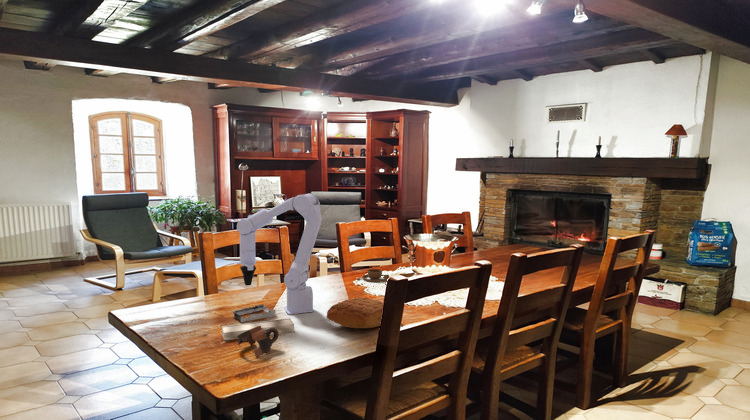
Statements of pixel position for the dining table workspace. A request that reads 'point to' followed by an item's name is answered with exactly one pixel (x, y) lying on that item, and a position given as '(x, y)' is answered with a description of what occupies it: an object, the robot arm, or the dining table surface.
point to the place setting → (374, 276)
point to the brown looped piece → (259, 339)
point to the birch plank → (235, 330)
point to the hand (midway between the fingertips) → (248, 284)
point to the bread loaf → (357, 313)
